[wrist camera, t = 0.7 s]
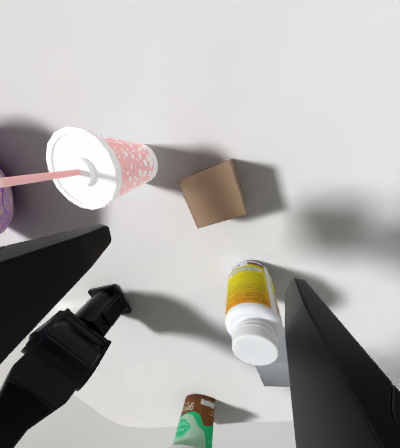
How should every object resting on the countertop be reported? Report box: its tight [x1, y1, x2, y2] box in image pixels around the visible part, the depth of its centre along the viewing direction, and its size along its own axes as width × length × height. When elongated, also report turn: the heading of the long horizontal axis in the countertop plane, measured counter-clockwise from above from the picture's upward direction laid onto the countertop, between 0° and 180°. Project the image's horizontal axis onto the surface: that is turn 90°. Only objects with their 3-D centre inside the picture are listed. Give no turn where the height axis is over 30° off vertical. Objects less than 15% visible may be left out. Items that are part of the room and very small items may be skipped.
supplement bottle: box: [225, 261, 283, 366], centre depth 20 cm, size 6×6×10 cm
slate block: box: [255, 328, 290, 387], centre depth 26 cm, size 5×5×5 cm
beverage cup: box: [0, 127, 158, 210], centre depth 15 cm, size 6×6×14 cm
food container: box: [169, 394, 215, 448], centre depth 36 cm, size 12×6×10 cm, turn 155°
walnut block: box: [178, 159, 246, 228], centre depth 19 cm, size 5×5×5 cm
